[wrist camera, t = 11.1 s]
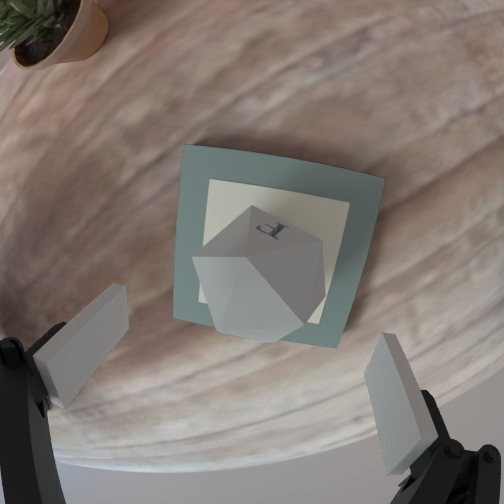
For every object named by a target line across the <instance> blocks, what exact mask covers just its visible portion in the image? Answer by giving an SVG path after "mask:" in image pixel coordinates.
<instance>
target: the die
mask: <svg viewBox="0 0 504 504" xmlns="http://www.w3.org/2000/svg"><path fill="white" fill-rule="evenodd" d="M192 259H193V263H194V266H195V269H196V272H197V275H198V278H199V281H200V284H201V287H202V290H203V293H204V296H205V298H206V301H207V304H208V307H209V310H210V313H211V316H212V318H213V321H214V324H215V327H216V330H217V332H221V333H225V334H229V335H234V336H238V337H243V338H248V339H252V340H257V341H262V342H267V343H273V342H275V341H277V340H279V339H281V338H282V337H284V336H286V335H288V334H290V333H291V332H293V331H295V330H297V329H298V328H300V327H302V326H303V325H305V324H306V322H307V321H308V320H309V318H310V317H311V316H312V314H313V313H314V311H315V310H316V309H317V307H318V306H319V305H320V303H321V302H322V300H323V299H324V298H325V296H326V292H325V273H324V257H323V243H322V240H321V239H319V238H317V237H315V236H313V235H311V234H309V233H307V232H305V231H303V230H301V229H299V228H297V227H295V226H293V225H292V224H290V223H288V222H285V221H283V220H281V219H279V218H277V217H275V216H273V215H271V214H269V213H267V212H265V211H263V210H261V209H259V208H257V207H255V206H253V205H251V206H250V207H249V208H247V209H246V210H245V211H244V212H243V213H241V214H240V215H239V216H238V217H237V218H236V219H234V220H233V221H232V222H231V223H230V224H229V225H227V226H226V227H225V228H224V229H223V230H222V231H220V232H219V233H218V234H217V235H216V236H215V237H214V238H212V239H211V240H210V241H209V242H208V243H207V244H205V245H204V246H203V247H202V248H201V249H200V250H199V251H197V252H196V253H195V254H194V255H193V256H192Z"/></svg>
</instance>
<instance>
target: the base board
mask: <svg viewBox="0 0 504 504" xmlns="http://www.w3.org/2000/svg"><path fill="white" fill-rule="evenodd" d="M384 184H385V179H384V178H382V177H379V176H375V175H371V174H366V173H362V172H358V171H354V170H349V169H345V168H340V167H336V166H331V165H326V164H321V163H316V162H311V161H306V160H300V159H295V158H289V157H283V156H277V155H271V154H264V153H258V152H251V151H243V150H236V149H227V148H219V147H210V146H200V145H184V148H183V156H182V166H181V175H180V186H179V197H178V210H177V224H176V240H175V260H174V290H173V318H176V319H180V320H185V321H189V322H193V323H198V324H202V325H206V326H211V327H215V324H214V321H213V318H212V316H211V313H210V310H209V307H208V304H207V301H206V298H205V296H204V293H203V290H202V287H201V284H200V281H199V278H198V275H197V272H196V269H195V266H194V263H193V259H192V256H193V255H194V254H195V253H196V252H197V251H199V250H200V249H201V248H202V247H203V246H204V245H205V244H207V243H208V242H209V241H210V240H211V239H212V238H214V237H215V236H216V235H217V234H218V233H219V232H220V231H222V230H223V229H224V228H225V227H226V226H227V225H229V224H230V223H231V222H232V221H233V220H234V219H236V218H237V217H238V216H239V215H240V214H241V213H243V212H244V211H245V210H246V209H247V208H249V207H250V206H251V205H253V206H255V207H257V208H259V209H261V210H263V211H265V212H267V213H269V214H271V215H273V216H275V217H277V218H279V219H281V220H283V221H285V222H288V223H290V224H292V225H293V226H295V227H297V228H299V229H301V230H303V231H305V232H307V233H309V234H311V235H313V236H315V237H317V238H319V239H321V240H322V243H323V257H324V273H325V292H326V296H325V298H324V299H323V300H322V302H321V303H320V305H319V306H318V307H317V309H316V310H315V311H314V313H313V314H312V316H311V317H310V318H309V320H308V321H307V322H306V324H305V325H303V326H302V327H300V328H298V329H297V330H295V331H293V332H291V333H290V334H288V335H286V336H284V337H282V338H281V339H279V340H284V341H290V342H296V343H303V344H310V345H317V346H324V347H331V348H337V347H338V344H339V342H340V339H341V336H342V333H343V331H344V328H345V325H346V322H347V319H348V316H349V313H350V310H351V307H352V304H353V301H354V298H355V295H356V292H357V289H358V286H359V282H360V279H361V276H362V272H363V269H364V265H365V262H366V258H367V255H368V251H369V248H370V244H371V240H372V236H373V232H374V228H375V224H376V220H377V216H378V212H379V207H380V203H381V198H382V194H383V189H384Z"/></svg>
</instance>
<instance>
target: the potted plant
mask: <svg viewBox="0 0 504 504" xmlns="http://www.w3.org/2000/svg"><path fill="white" fill-rule="evenodd" d="M108 31H109V21H108V18H107V16H106V14H105V13H104V12H102V11H101V10H100V9H99V8H98V7H97V5H96V3H95V1H94V0H0V33H3V34H2V35H1V36H0V42H2V41H4V43H3V44H2V45H1V46H0V52H1V51H2V50H3V49H5V48H6V47H7V46H8V45H9V44H10V43H12V42H13V45H12V46H11V47H10V48H9V49H12V52H13V59H14V62H15V64H16V65H17V66H18V67H19V68H21V69H26V70H42V69H45V68H48V67H50V66H51V65H53V64H59V63H67V62H75V61H81V60H85V59H87V58H89V57H90V56H92V55H93V54H94V53H95V52H96V51H97V50H98V49H99V48H100V47H101V46H102V44H103V42H104V40H105V38H106V36H107V34H108Z"/></svg>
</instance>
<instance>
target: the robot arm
mask: <svg viewBox="0 0 504 504" xmlns="http://www.w3.org/2000/svg"><path fill="white" fill-rule="evenodd" d="M128 330H129V321H128V309H127V295H126V286H125V285H121V284H118V283H113V284H111V285H110V286H109V287H108V288H107V289H106V290H104V291H103V292H102V293H101V294H100V295H99V296H97V297H96V298H95V299H94V300H93V301H92V302H91V303H89V304H88V305H87V306H86V307H85V308H84V309H83V310H81V311H80V312H79V313H78V314H77V315H76V316H75V317H74V318H73V319H71V320H70V321H69V322H68V323H66V322H61V323H59V324H57V325H55V326H53V327H52V328H51V329H50V330H49V331H48V332H47V333H46V334H44V335H43V336H42V338H40V339H39V340H38V341H37V342H36V343H35V344H34V345H32V346H31V347H30V348H29V349H28V350H27V351H26V352H24V349H23V346H22V343H21V342H20V341H19V340H18V339H16V338H10V337H9V338H5V339H3V340H1V341H0V470H1V478H2V486H3V492H4V498H5V504H66V502H65V499H64V495H63V492H62V488H61V485H60V481H59V477H58V473H57V468H56V464H55V459H54V454H53V449H52V443H51V438H50V431H49V424H48V417H47V410H48V403H47V401H46V399H45V398H46V396H47V395H49V397H50V399H51V402H52V403H53V404H55V405H56V406H58V407H60V408H62V409H64V410H66V409H67V407H68V406H69V405H70V403H71V402H72V401H73V400H74V398H75V397H76V396H77V394H78V393H79V392H80V390H81V389H82V388H83V386H84V385H85V384H86V382H87V381H88V380H89V379H90V377H91V376H92V375H93V373H94V372H95V371H96V370H97V368H98V367H99V366H100V365H101V363H102V362H103V361H104V359H105V358H106V357H107V356H108V354H109V353H110V352H111V351H112V349H113V348H114V347H115V346H116V344H117V343H118V342H119V341H120V340H121V338H122V337H123V336H124V335H125V333H126V332H127V331H128ZM364 375H365V379H366V383H367V387H368V391H369V395H370V399H371V403H372V408H373V412H374V416H375V421H376V425H377V430H378V435H379V440H380V445H381V449H382V455H383V460H384V466H385V471H386V476H388V475H399V474H403V473H404V472H405V471H406V470H407V469H408V468H409V467H410V471H411V474H410V475H409V476H408V477H407V478H406V479H405V480H404V481H403V482H401V483H400V484H399V485H398V486H401V485H402V487H401V488H400V490H399V491H398V493H397V494H396V496H395V497H394V498H393V500H392V501H391V503H390V504H499V498H500V482H501V456H500V453H499V451H498V449H497V448H496V447H494V446H492V445H484V446H482V448H480V449H479V450H478V451H477V452H475V451H469V450H464V447H463V446H462V444H461V443H459V442H458V441H457V440H454V439H450V436H449V434H448V431H447V429H446V426H445V424H444V421H443V419H442V416H441V415H440V411H439V409H438V408H437V404H436V402H435V400H434V397H433V396H432V395H431V394H430V393H429V392H428V391H427V390H420V388H419V386H418V383H417V381H416V379H415V376H414V374H413V372H412V370H411V367H410V365H409V363H408V361H407V358H406V356H405V354H404V352H403V350H402V347H401V345H400V343H399V341H398V339H397V337H396V335H395V334H389V333H382V335H381V337H380V339H379V342H378V344H377V346H376V348H375V351H374V353H373V355H372V357H371V359H370V362H369V364H368V366H367V368H366V370H365V372H364Z"/></svg>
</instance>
